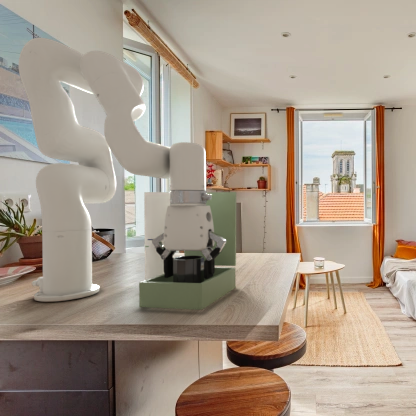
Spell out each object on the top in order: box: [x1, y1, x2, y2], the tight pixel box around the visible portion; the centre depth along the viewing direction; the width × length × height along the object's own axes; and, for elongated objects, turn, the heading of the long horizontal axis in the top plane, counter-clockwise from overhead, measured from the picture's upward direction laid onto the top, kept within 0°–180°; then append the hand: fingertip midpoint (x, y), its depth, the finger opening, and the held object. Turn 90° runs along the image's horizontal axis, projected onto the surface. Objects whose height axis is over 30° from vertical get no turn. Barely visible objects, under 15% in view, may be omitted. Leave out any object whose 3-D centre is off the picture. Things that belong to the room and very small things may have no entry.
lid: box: [183, 191, 237, 267], centre depth 83 cm, size 18×14×1 cm
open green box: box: [138, 266, 237, 311], centre depth 74 cm, size 18×14×6 cm
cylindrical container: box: [143, 191, 175, 281], centre depth 88 cm, size 7×7×25 cm
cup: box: [173, 255, 204, 283], centre depth 72 cm, size 6×6×9 cm
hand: (189, 276), depth 72 cm, fingers open, 8 cm apart
